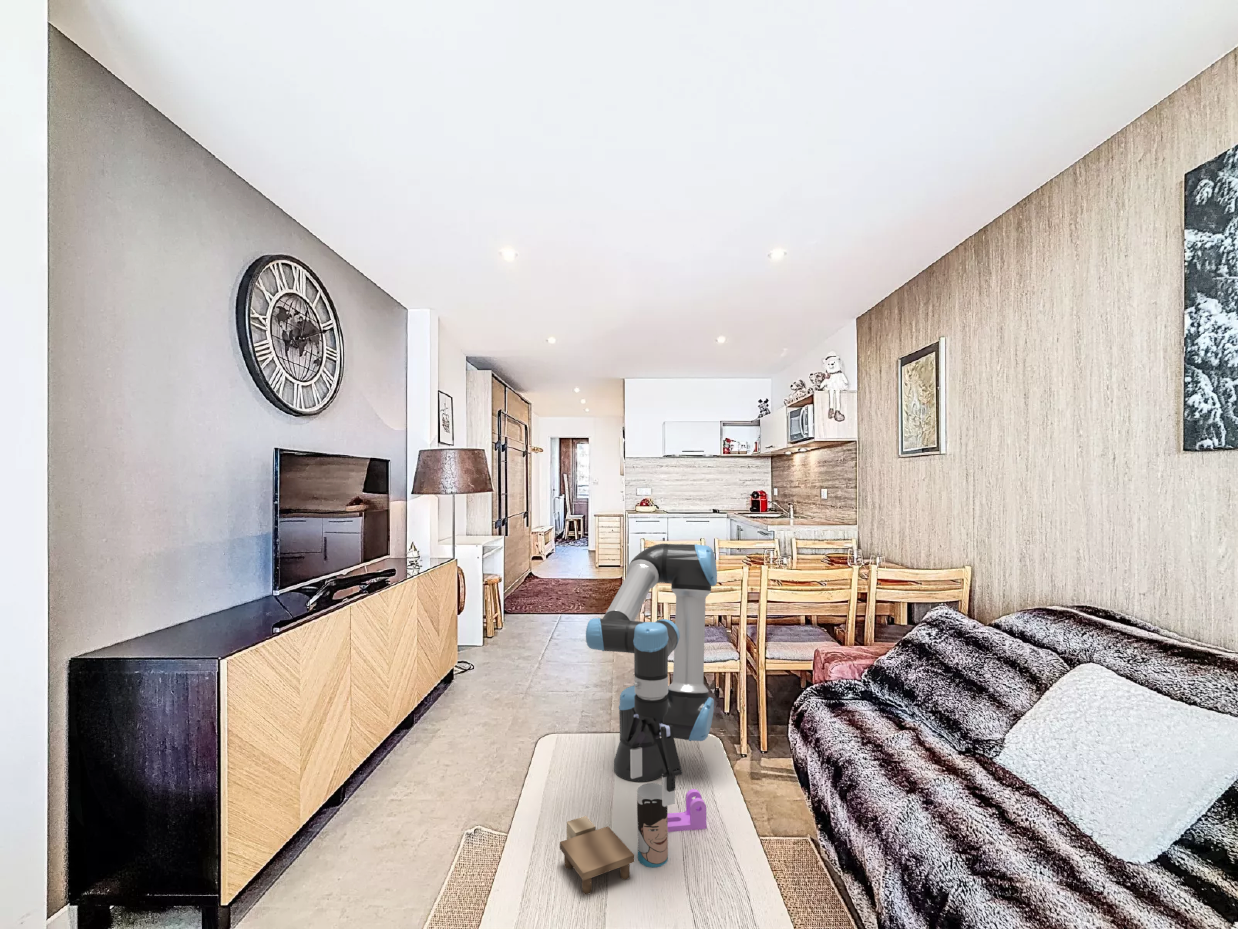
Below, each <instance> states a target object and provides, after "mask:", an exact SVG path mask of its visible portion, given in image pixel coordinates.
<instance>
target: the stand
mask: <svg viewBox="0 0 1238 929" xmlns="http://www.w3.org/2000/svg"><path fill="white" fill-rule="evenodd" d="M559 849H560V852H562V854H563V856H564V861H563V862H564V863H563V864H564V868H565V869H567V870H572V869H574V870H575V872H576V873H577V874H578V875H579V877H580V879H581V892H582V894H584V895H590V894H592V892H593V886H592V883H593V881H592V878H594V877H597V876H600V875H603V874H605V873H609V872H610V871H613V870H616V869H620V870H619V872H620V873H619V875H620V879H621V880H629V879H630V878H631V877H630V876H631V875H630V873H631V872H630V871H631V870H630V868H631V866H630V865H631V864H633V863H635V853H634V852H633V851H632V850H631V849H630V848H629V847H628V846H627V845H626V844H625V843H624V842H623V841H622V840H621V838H619V837H618V835H617V833H615V832H614V831H613V830H612V829H611V828H610V827H609V826H608V825H607V826H605V827H601V828H598V829H596V830H595V831H592V832H589V833H586V834H583V835H580V836H576V837H573V838H570V839H567V838H566V839H565V840H562V841H559Z"/></svg>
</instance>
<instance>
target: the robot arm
mask: <svg viewBox="0 0 1238 929" xmlns="http://www.w3.org/2000/svg"><path fill="white" fill-rule="evenodd" d="M717 583H718V569H717V562H716V557H715V553H714V550H713V548H712V547H711V546H709V545H705V544H704V545H703V544H691V543H690V544H687V543H685V544H684V543H683V544H680V543H678V544H677V543H658V544H654V545H651V546H650V547H649V546H648V547H647V548H645V549H644V550H642V551H641V552H639V553H638V554H637V555H636V556H634V558H633V559H632V560H631V561H630V563H629V564H628V565H627V569H626V576H625V578H624V580H623V582H622V584H620V585H621V586H619V589H618V591H617V593H616V594H615V596H614V598H613V600H612V601H611V604H610V605H609V607H608V609H607V610H606V612H605V614H604V615H603V617H602V618H600V617H597V618H592V619H590V620H589V621H588V622H587V625H586V628H585V629H586V630H585V642H586V645H587V647H588V648H589V649H590V650H595V651H597V650H598V651H601V652H611V653H612V652H617V653H628V654H633V658H634V661H633V662H634V663H633V665H634V673H633V674H634V683H633V685H629V687H626V688H625V689H623V691H621V692H620V695H619V705H618V710H619V712H618V714H619V715H618V716H619V742H618V745H617V749H616V753H615V755H614V756H615V757H614V760H613V771H614V773H615V774H616V775H617V776H618V777H620V778H621V779H624V780H627V781H631V782H638V783H639V782H650V781H655V780H657V779H659V778H661V785H662V805H663V806H664V807H665V806H667V807H668V806H671V805H674V804H676V803H675V802H676V799H675V797H676V796H675V795H676V794H675V793H676V777H677V776H681V775H682V774H683V772H682V766H681V762H680V759H679V754H678V750H677V747H676V740H675V739H677V740H678V739H679V740H685V741H686V740H687V741H689V742H692V741H693V742H703V741H705V740H707V738H708V736H709V735H710V731H711V728H712V722H713V718H714V717H713V716H714V709H715V700H714V698H713V697H711V696H709V689H708V687H707V686H706V685H705V684H704V672H705V671H704V670H705V669H704V668H705V663H704V662H705V639H706V638H705V637H706V636H705V633H706V632H705V630H706V625H705V624H706V602H707V601H706V598H707V597H708V596H709V595H710V594H711V593H712V587H714V586H717ZM657 584H671V587H670V588H671V589H670V590H671V591H672V593H673V594H674V595H675V618H674V619H675V621H674V622H673V621H672V620H671V619H666V618H665V619H664V618H662V619H659V620H656V621H640V620H639V621H638V620H636V619H637V617H638V615H639V613H640V611H641V608H642V606H643V605H644V603H645V600H646V599H647V596H648V594H649V592H650V590H651V589H653V588H654V587H655V586H656V585H657ZM672 652H673V667H672V668H673V669H672V670H673V672H672V673H673V674H672V682H671V683H670V684H669V672H668V671H669V666H668V665H669V656H670V655H671V654H672Z"/></svg>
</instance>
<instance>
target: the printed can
mask: <svg viewBox="0 0 1238 929" xmlns="http://www.w3.org/2000/svg"><path fill="white" fill-rule="evenodd" d="M636 801H637V802H636V803H637V804H636V806H637V807H636V809H637V810H636V811H637V812H636V813H637V814H636V815H637V816H636V818H637V821H636V823H637V825H636V826H637V860H638V862H639V864H641V865H643V866H644V867H648V868H659V867H662V866H664V865H665V864H667V862H668V861H669V860H668V859H669V847H668V846H669V842H668V841H669V840H668V838H669V836H668V835H669V834H668V833H669V832H668V806H665V807H664V806H663V805H662V784H660V783H658V782H657V783H655V782H650V783H644V784H641V785H640V786H638V787H637V790H636Z"/></svg>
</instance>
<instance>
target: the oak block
mask: <svg viewBox="0 0 1238 929" xmlns="http://www.w3.org/2000/svg"><path fill="white" fill-rule="evenodd" d="M595 830H597V829H596V826H595V824H594V823H593V822H592V821H591V820H590V818H589V817H588V816H587V815H584V816H581V817H577V818H574V819H572V820H571V819H570V820H568V821H566V840H567V839H570V838H573V837H576V836H580V835H583V834H586V833H589V832H592V831H595Z"/></svg>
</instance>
